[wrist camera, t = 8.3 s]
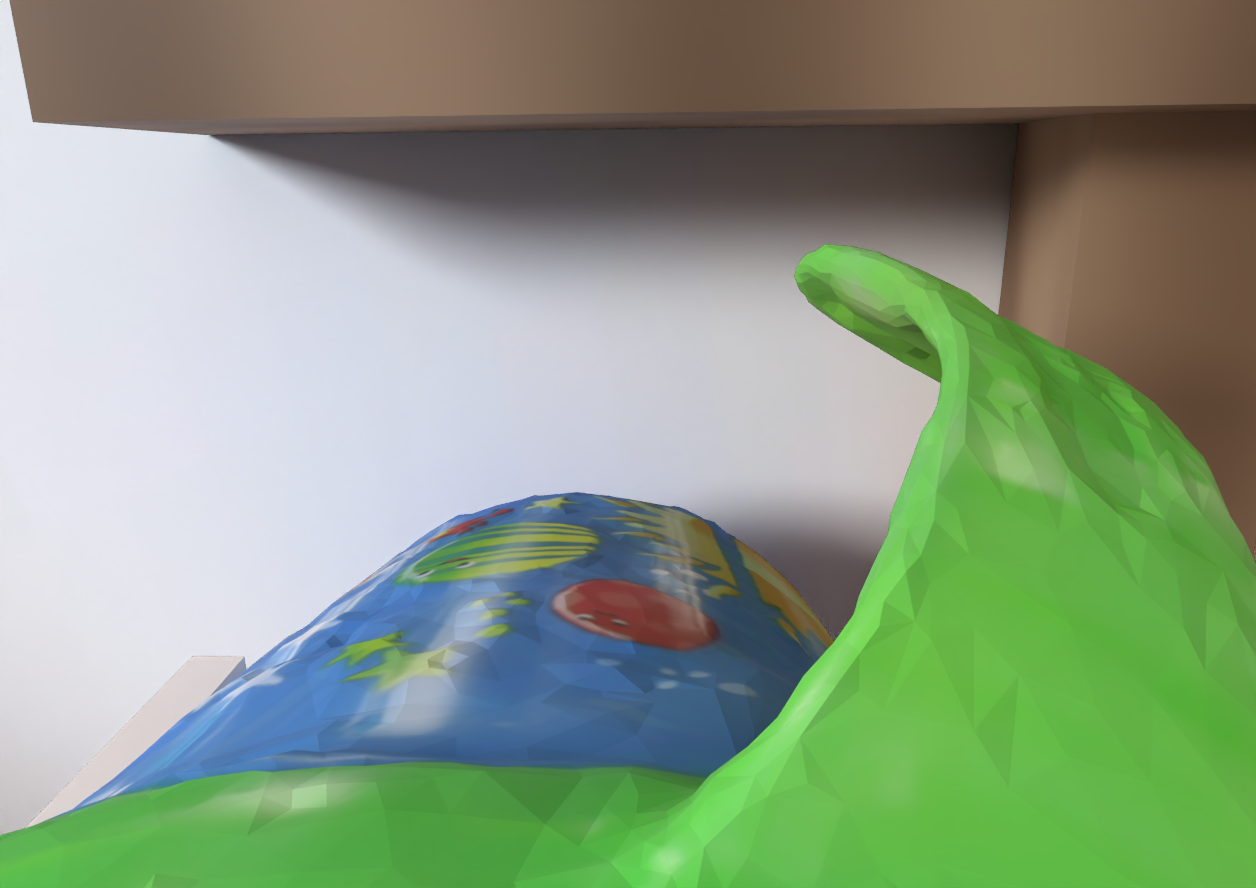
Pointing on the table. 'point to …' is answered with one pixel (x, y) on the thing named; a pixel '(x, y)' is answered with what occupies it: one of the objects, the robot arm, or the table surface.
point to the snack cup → (755, 677)
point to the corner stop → (789, 96)
